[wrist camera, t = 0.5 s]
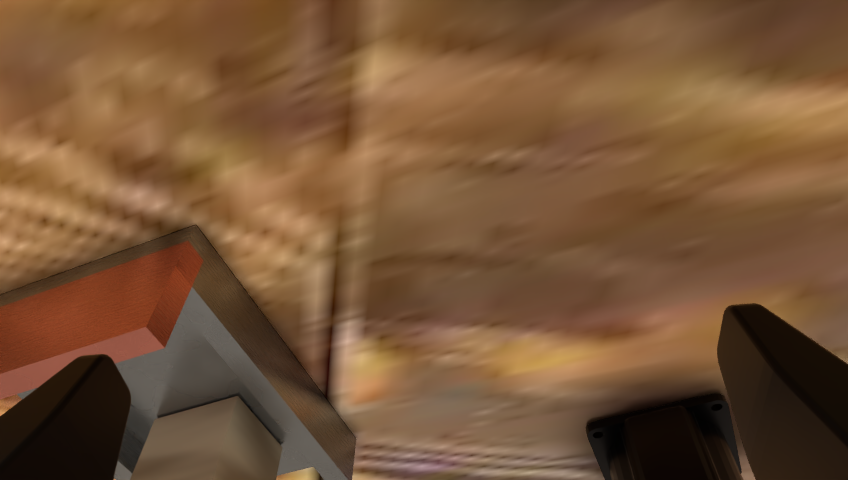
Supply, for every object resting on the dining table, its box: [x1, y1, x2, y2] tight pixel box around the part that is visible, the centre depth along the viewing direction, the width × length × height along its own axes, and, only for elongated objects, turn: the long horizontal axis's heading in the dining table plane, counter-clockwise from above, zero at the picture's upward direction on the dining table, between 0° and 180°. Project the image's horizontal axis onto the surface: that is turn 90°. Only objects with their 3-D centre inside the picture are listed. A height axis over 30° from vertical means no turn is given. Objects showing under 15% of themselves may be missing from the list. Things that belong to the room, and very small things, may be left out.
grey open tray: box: [0, 225, 356, 480], centre depth 28 cm, size 14×10×6 cm
